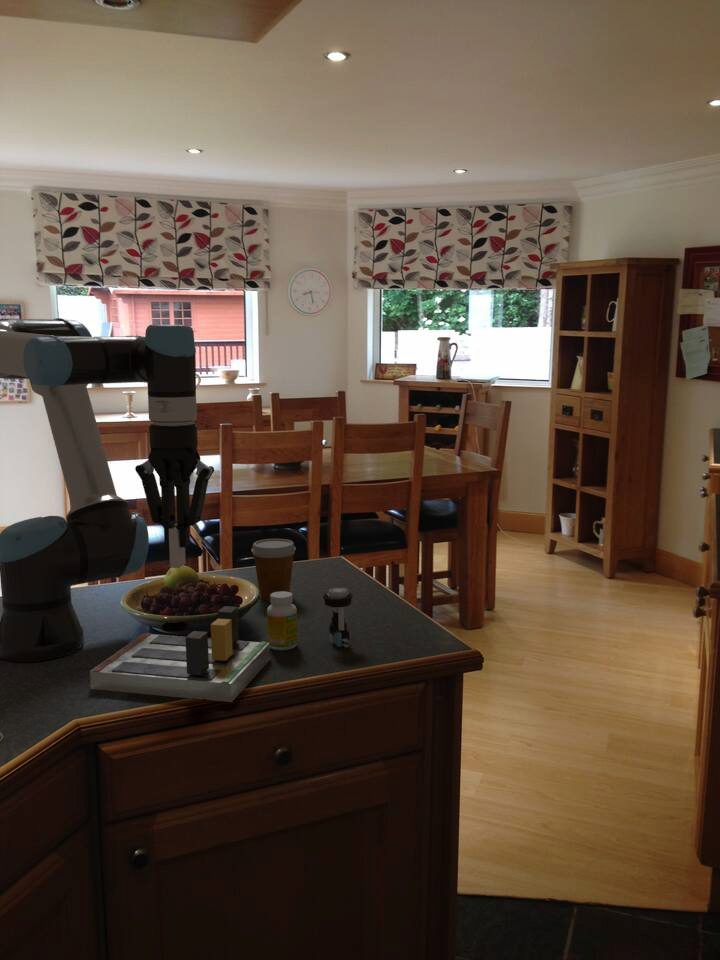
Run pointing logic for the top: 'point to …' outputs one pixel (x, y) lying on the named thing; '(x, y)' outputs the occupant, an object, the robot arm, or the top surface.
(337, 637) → the push button
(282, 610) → the supplement bottle
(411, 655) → the top surface
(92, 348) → the robot arm
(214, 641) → the block
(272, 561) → the disposable coffee cup
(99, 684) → the panel
